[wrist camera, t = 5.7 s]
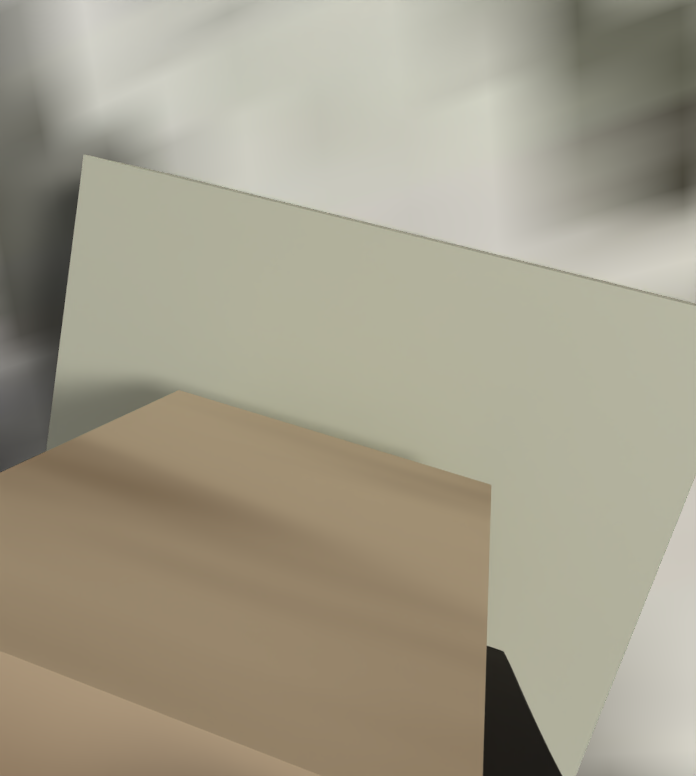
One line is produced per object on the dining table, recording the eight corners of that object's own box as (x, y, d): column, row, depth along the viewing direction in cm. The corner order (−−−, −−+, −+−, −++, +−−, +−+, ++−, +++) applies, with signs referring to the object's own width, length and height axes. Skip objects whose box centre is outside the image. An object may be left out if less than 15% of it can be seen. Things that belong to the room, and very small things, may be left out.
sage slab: (523, 769, 15) (529, 890, 12) (97, 613, 17) (15, 687, 14) (697, 304, 12) (757, 321, 10) (167, 173, 14) (83, 154, 11)
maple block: (404, 757, 11) (302, 1323, 5) (132, 655, 12) (-217, 1048, 6) (490, 484, 10) (479, 835, 4) (179, 389, 10) (-209, 569, 5)
